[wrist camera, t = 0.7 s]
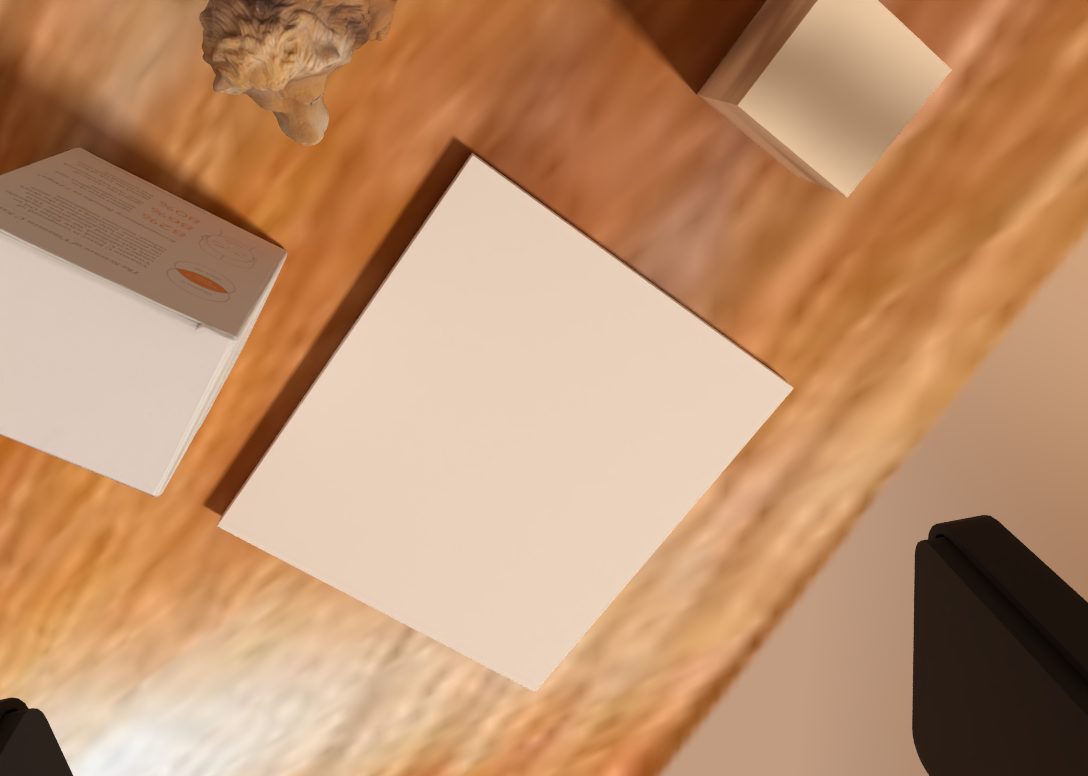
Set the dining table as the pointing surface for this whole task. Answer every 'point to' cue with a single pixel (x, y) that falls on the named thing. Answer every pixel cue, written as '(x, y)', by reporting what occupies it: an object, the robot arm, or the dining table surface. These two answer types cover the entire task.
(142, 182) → the small box
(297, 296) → the dining table surface
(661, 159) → the dining table surface
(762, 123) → the birch block
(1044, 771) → the robot arm
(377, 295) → the mat
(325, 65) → the lion figurine
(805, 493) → the dining table surface
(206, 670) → the dining table surface
